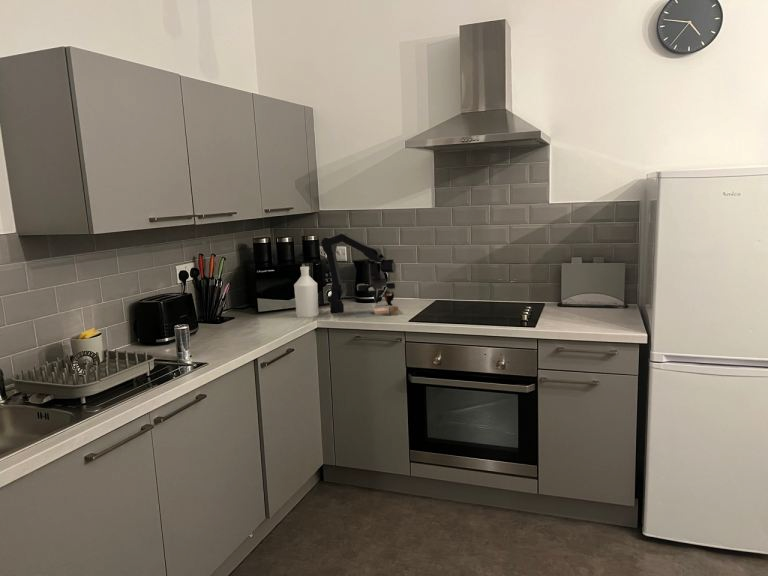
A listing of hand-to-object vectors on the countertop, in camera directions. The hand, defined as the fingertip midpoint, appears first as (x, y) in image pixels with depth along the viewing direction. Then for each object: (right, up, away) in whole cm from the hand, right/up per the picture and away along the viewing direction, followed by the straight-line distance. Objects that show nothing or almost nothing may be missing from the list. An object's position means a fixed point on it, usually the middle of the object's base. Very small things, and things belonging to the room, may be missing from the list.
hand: (376, 303), depth 308 cm
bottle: (-36, -7, +6) cm, 37 cm away
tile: (-2, -4, 0) cm, 5 cm away
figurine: (+7, -3, +19) cm, 21 cm away
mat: (+1, -6, +1) cm, 6 cm away
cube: (+9, -6, -5) cm, 11 cm away
